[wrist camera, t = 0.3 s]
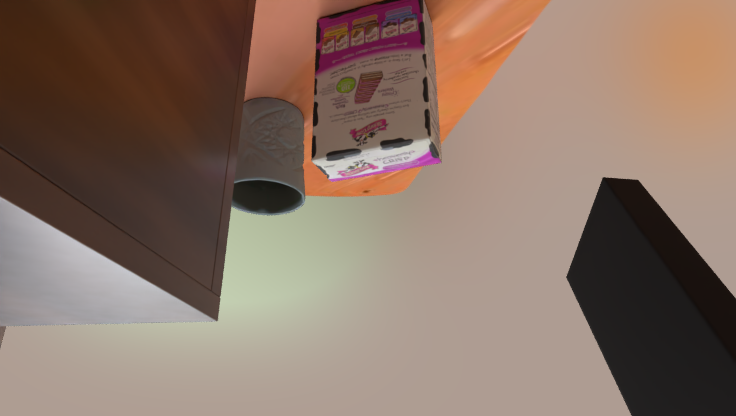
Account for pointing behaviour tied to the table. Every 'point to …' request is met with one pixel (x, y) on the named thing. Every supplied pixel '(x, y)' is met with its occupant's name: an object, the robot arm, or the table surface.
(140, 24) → the cupboard
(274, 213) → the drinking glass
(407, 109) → the food carton
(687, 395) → the robot arm
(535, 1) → the table surface
